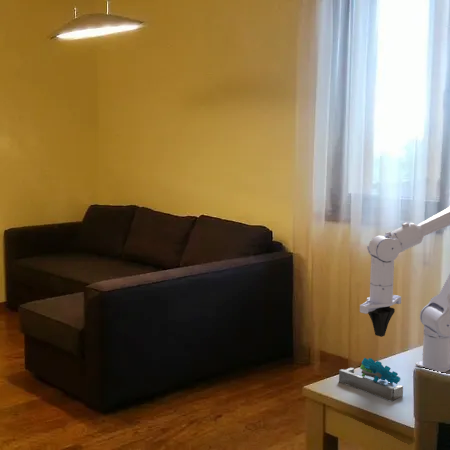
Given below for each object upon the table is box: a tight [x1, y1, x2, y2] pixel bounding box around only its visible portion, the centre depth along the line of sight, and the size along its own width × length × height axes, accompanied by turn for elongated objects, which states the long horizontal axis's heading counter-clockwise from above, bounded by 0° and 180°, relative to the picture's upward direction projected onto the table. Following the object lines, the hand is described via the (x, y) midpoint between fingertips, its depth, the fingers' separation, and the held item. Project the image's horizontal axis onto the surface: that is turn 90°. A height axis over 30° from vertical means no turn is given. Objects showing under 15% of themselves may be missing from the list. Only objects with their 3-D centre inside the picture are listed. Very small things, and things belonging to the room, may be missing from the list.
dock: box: [338, 367, 404, 402], centre depth 164 cm, size 4×16×3 cm, turn 40°
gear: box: [359, 357, 401, 385], centre depth 166 cm, size 11×6×10 cm
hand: (379, 335), depth 175 cm, fingers closed
